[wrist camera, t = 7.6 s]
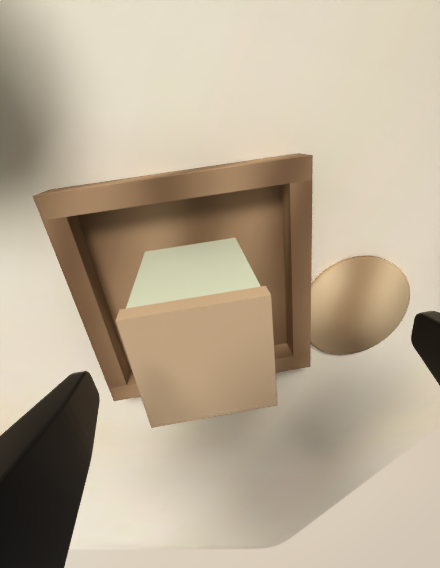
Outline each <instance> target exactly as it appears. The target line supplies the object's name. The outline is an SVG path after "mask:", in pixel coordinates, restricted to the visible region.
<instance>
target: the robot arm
mask: <svg viewBox="0 0 440 568" xmlns="http://www.w3.org/2000/svg"><path fill="white" fill-rule="evenodd" d="M411 341H412V344H413V346H414V348H415V349H416V351H417V352H418V354H419V355H420V357H421V358H422V360H423V361H424V363H425V364H426V366H427V367H428V369H429V370H430V372H431V373H432V375H433V376H434V378H435V379H436V381H437V382H438V384H439V385H440V313H439V312H436V311H428V312H422V313H419V314H417V315H416V316H415V319H414V325H413V330H412V335H411ZM98 408H99V393H98V390H97V388H96V386H95V384H94V381H93V379H92V377H91V375H90V373H89V372H87V371H83V372H77V373H73V374H71V375H69V376H68V377H67V378H66V379H65V380H64V381H62V382H61V383H60V384H59V385H58V386H57V387H56V388H54V389H53V390H52V391H51V392H50V393H49V394H48V395H46V396H45V397H44V398H43V399H42V400H41V401H40V402H38V403H37V404H36V405H35V406H34V407H33V408H32V409H30V410H29V411H28V412H27V413H26V414H25V415H24V416H22V417H21V418H20V419H19V420H18V421H17V422H16V423H14V424H13V425H12V426H11V427H10V428H9V429H8V430H6V431H5V432H4V433H3V434H2V435H1V436H0V568H64V566H65V561H66V558H67V554H68V550H69V546H70V542H71V538H72V534H73V530H74V526H75V522H76V518H77V514H78V510H79V506H80V502H81V498H82V494H83V490H84V486H85V482H86V478H87V474H88V470H89V466H90V461H91V456H92V450H93V444H94V436H95V429H96V422H97V415H98Z"/></svg>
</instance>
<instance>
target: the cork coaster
mask: <svg viewBox="0 0 440 568" xmlns="http://www.w3.org/2000/svg"><path fill="white" fill-rule="evenodd" d="M409 300H410V288H409V283H408V281H407V278H406V276H405V275H404V273H403V272H402V271H401V270H400V269H399V268H398V267H397V266H395V265H394V264H392V263H391V262H389V261H387V260H385V259H382V258H379V257H374V256H357V257H352V258H348V259H346V260H343V261H340V262H338V263H336V264H334V265H333V266H331V267H329V268H328V269H326V270H325V271H324V272H323V273H321V274H320V275H319V276H318V277H317V278H316V279H315V280H314V282H313V283H312V284H311V343H312V344H313V345H314V346H316V347H317V348H318V349H320V350H322V351H325V352H327V353H332V354H339V355H341V354H353V353H357V352H361V351H364V350H366V349H369V348H371V347H373V346H375V345H376V344H378V343H380V342H381V341H383V340H384V339H385V338H386V337H388V336H389V335H390V334H391V333H392V332H393V331H394V330H395V329H396V327H397V326H398V325H399V324H400V322H401V321H402V319H403V317H404V315H405V313H406V311H407V308H408V305H409Z"/></svg>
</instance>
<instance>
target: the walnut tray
mask: <svg viewBox="0 0 440 568" xmlns="http://www.w3.org/2000/svg"><path fill="white" fill-rule="evenodd" d="M33 198H34V200H35V203H36V206H37V208H38V211H39V213H40V216H41V218H42V221H43V223H44V226H45V228H46V231H47V233H48V236H49V238H50V241H51V243H52V246H53V248H54V251H55V253H56V256H57V259H58V261H59V264H60V266H61V269H62V271H63V274H64V276H65V279H66V281H67V284H68V286H69V289H70V291H71V294H72V296H73V299H74V301H75V304H76V306H77V309H78V312H79V314H80V317H81V319H82V322H83V324H84V327H85V329H86V332H87V334H88V337H89V339H90V342H91V344H92V347H93V349H94V352H95V354H96V357H97V359H98V362H99V365H100V367H101V370H102V372H103V375H104V377H105V380H106V382H107V385H108V387H109V390H110V392H111V395H112V397H113V400H114V401H118V400H123V399H129V398H135V397H140V396H141V395H140V392H139V389H138V386H137V383H136V380H135V377H134V374H133V371H132V368H131V365H130V362H129V359H128V356H127V353H126V351H125V348H124V345H123V342H122V339H121V336H120V333H119V330H118V327H117V324H116V318H117V315H118V313H119V310H120V309H126V306H127V303H128V301H129V298H130V295H131V292H132V289H133V286H134V283H135V280H136V277H137V274H138V271H139V268H140V265H141V262H142V259H143V256H144V253H145V252H146V251H153V250H159V249H166V248H172V247H178V246H185V245H191V244H198V243H204V242H211V241H217V240H223V239H230V238H236V240H237V242H238V244H239V246H240V247H241V249H242V251H243V253H244V255H245V257H246V259H247V261H248V263H249V265H250V267H251V269H252V271H253V273H254V274H255V276H256V278H257V280H258V282H259V284H260V286H266V287H267V289H268V290H269V292H270V294H271V303H272V320H273V338H274V356H275V373H276V372H282V371H288V370H293V369H299V368H305V367H310V342H311V248H312V155H306V154H299V153H298V154H291V155H284V156H277V157H271V158H264V159H257V160H250V161H243V162H236V163H229V164H223V165H216V166H209V167H202V168H195V169H188V170H182V171H175V172H168V173H161V174H154V175H147V176H140V177H134V178H127V179H120V180H113V181H106V182H99V183H93V184H86V185H79V186H72V187H65V188H58V189H51V190H48V191H45V192H43V193H40V194H38V195H35V196H33Z"/></svg>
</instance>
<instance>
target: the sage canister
mask: <svg viewBox="0 0 440 568" xmlns="http://www.w3.org/2000/svg"><path fill="white" fill-rule="evenodd" d="M116 324H117V327H118V330H119V333H120V336H121V339H122V342H123V345H124V348H125V351H126V353H127V356H128V359H129V362H130V365H131V368H132V371H133V374H134V377H135V380H136V383H137V386H138V389H139V392H140V395H141V398H142V401H143V404H144V407H145V410H146V413H147V416H148V419H149V422H150V425H151V428H153V427H158V426H164V425H169V424H175V423H181V422H186V421H192V420H197V419H203V418H208V417H214V416H219V415H225V414H230V413H236V412H242V411H247V410H253V409H258V408H264V407H269V406H275V405H277V392H276V374H275V356H274V338H273V320H272V303H271V294H270V292H269V290H268V289H267V287H266V286H260V284H259V282H258V280H257V278H256V276H255V274H254V273H253V271H252V269H251V267H250V265H249V263H248V261H247V259H246V257H245V255H244V253H243V251H242V249H241V247H240V246H239V244H238V242H237V240H236V238H230V239H223V240H217V241H211V242H204V243H198V244H191V245H185V246H178V247H172V248H166V249H159V250H153V251H146V252H145V253H144V256H143V259H142V262H141V265H140V268H139V271H138V274H137V277H136V280H135V283H134V286H133V289H132V292H131V295H130V298H129V301H128V303H127V306H126V309H120V310H119V313H118V315H117V318H116Z"/></svg>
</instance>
